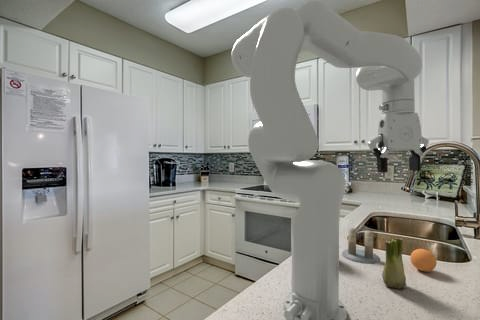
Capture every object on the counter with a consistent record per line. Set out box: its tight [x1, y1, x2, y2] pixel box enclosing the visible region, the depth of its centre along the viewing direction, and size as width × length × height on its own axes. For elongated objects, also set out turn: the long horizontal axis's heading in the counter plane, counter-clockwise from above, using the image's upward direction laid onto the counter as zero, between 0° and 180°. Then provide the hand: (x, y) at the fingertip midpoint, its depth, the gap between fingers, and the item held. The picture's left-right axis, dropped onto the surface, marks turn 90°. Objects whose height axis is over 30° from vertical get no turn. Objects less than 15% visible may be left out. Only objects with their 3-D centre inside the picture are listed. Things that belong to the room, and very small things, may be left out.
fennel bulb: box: [381, 237, 407, 290], centre depth 62 cm, size 6×5×12 cm
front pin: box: [364, 229, 374, 259], centre depth 79 cm, size 2×2×8 cm
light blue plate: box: [341, 248, 381, 264], centre depth 81 cm, size 11×11×1 cm
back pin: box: [347, 227, 357, 255], centre depth 83 cm, size 2×2×8 cm
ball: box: [409, 248, 437, 272], centre depth 71 cm, size 6×6×6 cm
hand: (398, 171), depth 69 cm, fingers open, 9 cm apart
